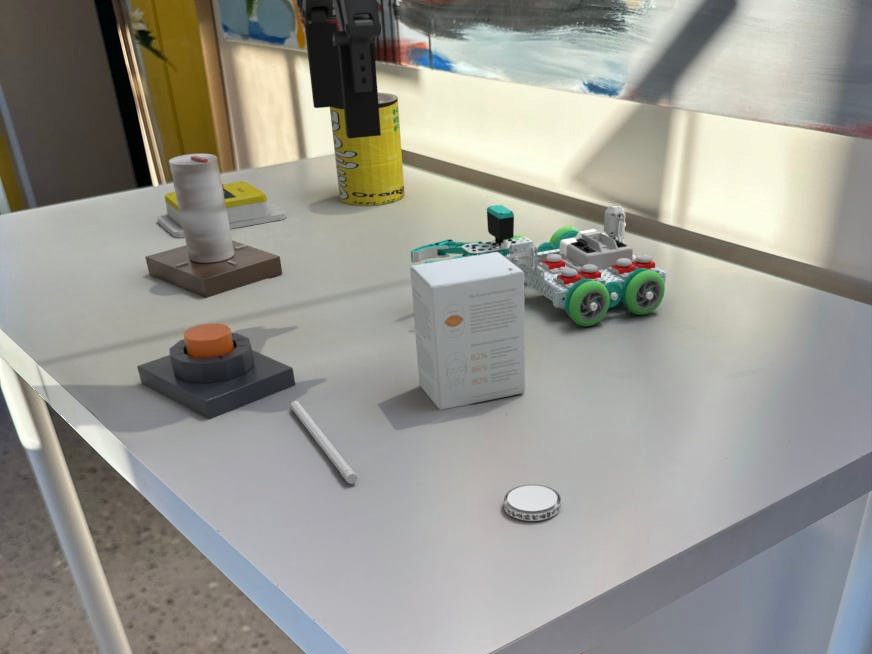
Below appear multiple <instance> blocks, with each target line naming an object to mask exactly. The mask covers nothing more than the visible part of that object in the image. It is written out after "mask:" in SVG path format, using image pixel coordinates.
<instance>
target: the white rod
mask: <svg viewBox="0 0 872 654" xmlns="http://www.w3.org/2000/svg"><path fill="white" fill-rule="evenodd" d="M290 409H291V410H292V411H293V413H294V414H295V416H296V417H297V418H298V419H299V421H300V422H301V423H302V425H303V426H304V427H305V428H306V430H307V431H308V433H309V434H310V435H311V436H312V438H313V439H314V440H315V441H316V443H317V444H318V446H319V447H320V448H321V449H322V451H323V452H324V453H325V455H326V456H327V457H328V459H329V460H330V461H331V462H332V464H333V465H334V466H335V468H336V469H337V470H338V472H339V473H340V475H341V476H342V478H343V479H344V480H345V481H346V482H347V484H350V485H353V484H356V482H357V480H358V475H357V473H356V472H355V471H354V470H353V468H352V467H351V466H350V465H349V464H348V463H347V462H346V460H345V459H344V458H343V456H342V455H341V454H340V453H339V452H338V450H337V449H336V447H334V444H332V442H331V441H330V440H329V438H328V437H326V435H325V434H324V433H323V431H322V430H321V429H320V428H319V426H318V425H317V424H316V422H315V420H313V418H312V417H311V416H310V415H309V413H308V412H307V411H306V410H305V408H304V407H303V405H301V403H300V402H299V401H298V400H294V401H291V403H290Z"/></svg>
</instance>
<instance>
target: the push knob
mask: <svg viewBox="0 0 872 654" xmlns="http://www.w3.org/2000/svg"><path fill="white" fill-rule="evenodd" d="M231 333H232V330H231V328H230V327H229V325H226V324H222V323H214V322H213V323H202V324H198V325H195V326H191V327H189V328H188V329H186V330H185V331H184V332H183V339H184V340H185V345H186V349H187V354H188V355H189V356H191V357H198V358H208V357H215V356H220V355H223V354H226V353H229V352H231V351H233V350H234V345H233V340H232V334H231Z"/></svg>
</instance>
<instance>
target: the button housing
mask: <svg viewBox="0 0 872 654" xmlns="http://www.w3.org/2000/svg"><path fill="white" fill-rule="evenodd" d="M231 334H232V340H233V345H234V350H233V351H231V352H229V353H226V354H223V355H220V356H215V357H208V358H198V357H191V356H189V355H188V354H187V349H186V345H185V340H184V338H182V339H180V340H178V341H177V342H176V343H174V344H173V345H172V346H171V347H170V348H169V354H168V355H165V356H162V357H159V358H156V359H154V360H151V361H148V362H145V363H142V364H139V365H137V366H136V368H137V372H138V375H139V379H140V383H141V384H142V385H143V386H146V387H147V388H149V389H151V390H152V391H155V392H156V393H158V394H161V395H163V396H164V397H166V398H168V399H170V400H171V401H174V402H175V403H177V404H179V405H181V406H183V407H185V408H188V409H189V410H191V411H193V412H194V413H196V414H198V415H200V416H202V417H204V418H206V419H208V420H212V419H214V418H217V417H219V416H222V415H225V414H226V413H230V412H233V411H234V410H237V409H239V408H242V407H245V406H247V405H250V404H252V403H255V402H257V401H259V400H262V399H265V398H267V397H270V396H272V395H274V394H277V393H280V392H282V391H284V390H287V389H290V388H292V387H294V386H296V381H295V380H296V379H295V374H294V368H293V367H292V366H289V365H287V364H285V363H283V362H281V361H278V360H276V359H273V358H272V357H269V356H267V355H264V354H262V353H260V352H257V351H255V350H253V349H252V344H251V339H250V338H249V337H247V336H245V335H243V334H240V333H237V332H231Z"/></svg>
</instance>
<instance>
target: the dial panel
mask: <svg viewBox="0 0 872 654" xmlns="http://www.w3.org/2000/svg"><path fill="white" fill-rule="evenodd" d="M232 243H233V248H234V255H233V256H232V257H231V258H229V259H226V260H223V261H219V262H212V263H199V262H194V261H191V260H190V259H189V255H188V250H187V245H186V244H184V245H182V246H179V247H174V248H171V249H167V250H164V251H160V252H157V253H153V254H150V255H149V254H148V255H146V256H144V258H145V261H146V266H147V270H148V274H149V275H150V276H153V277H155V278H158V279H159V280H162V281H164V282H167V283H170V284H172V285H175V286H178V287H179V288H182V289H184V290H187V291H189V292H192V293H195V294H197V295H200V296H202V297H205V298H207V299H208V298H210V297H214V296H217V295H220V294H223V293H227V292H229V291H234V290H235V289H239V288H242V287H245V286H248V285H252V284H255V283H258V282H261V281H265V280H267V279H271V278H274V277H275V278H276V277H278V276H281V275H283V268H282V261H281V257H280V255H278V254H274V253H271V252H268V251H265V250H262V249H259V248H256V247H253V246H250V245H248V244H244V243H241V242H239V241H236V240H233V239H232Z"/></svg>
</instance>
